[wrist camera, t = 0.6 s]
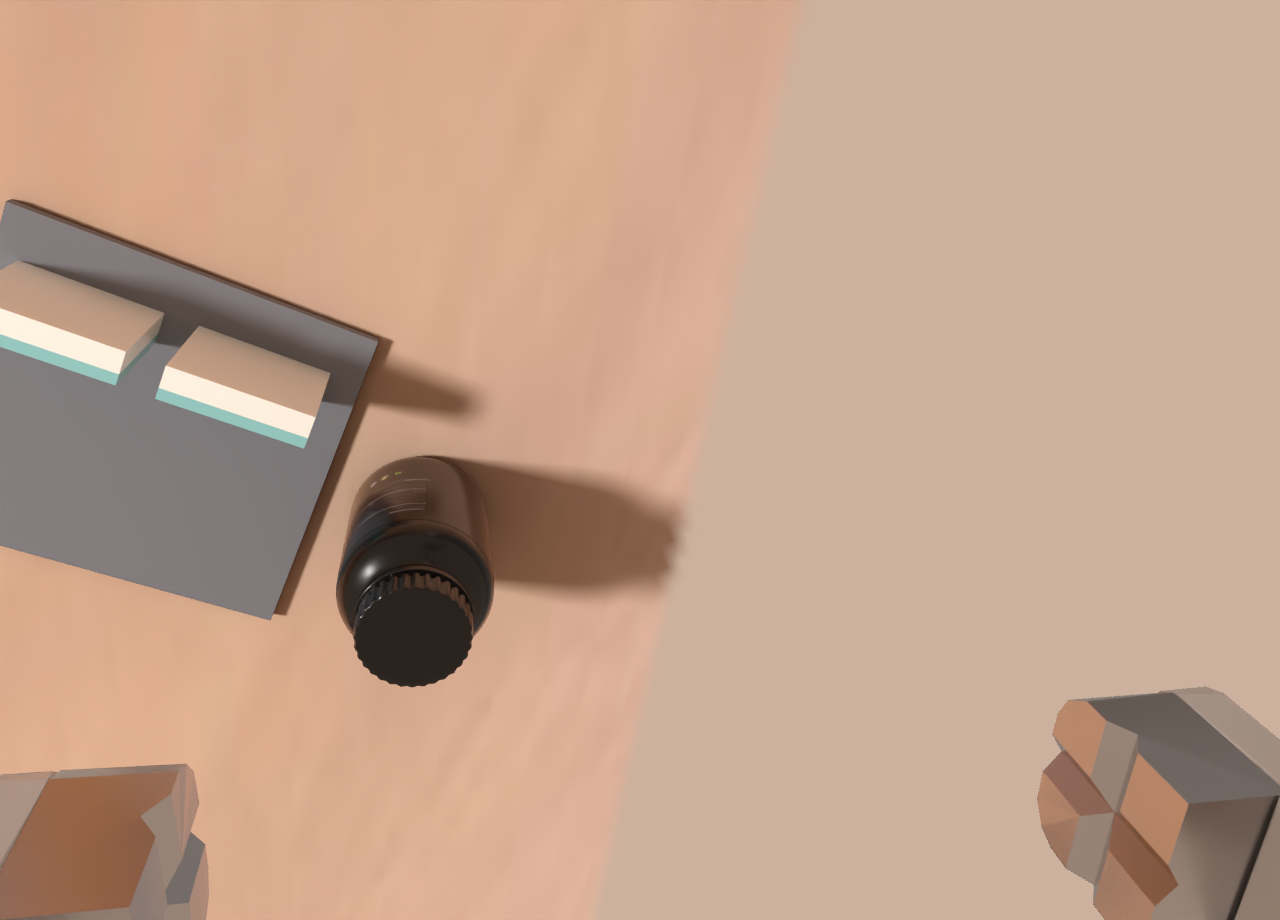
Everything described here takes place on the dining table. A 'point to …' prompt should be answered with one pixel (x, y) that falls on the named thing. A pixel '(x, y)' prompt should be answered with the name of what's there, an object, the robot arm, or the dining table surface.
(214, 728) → the dining table surface
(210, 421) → the mat
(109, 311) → the tile
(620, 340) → the dining table surface
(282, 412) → the tile
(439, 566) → the supplement bottle
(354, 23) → the dining table surface
